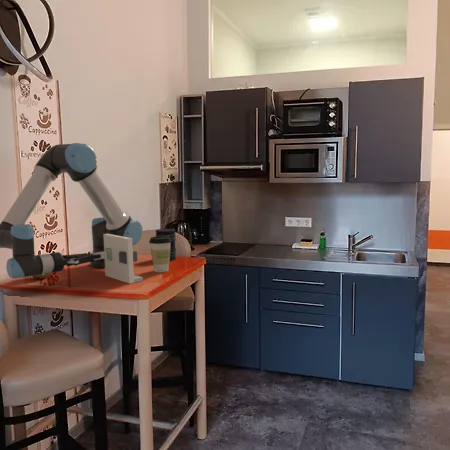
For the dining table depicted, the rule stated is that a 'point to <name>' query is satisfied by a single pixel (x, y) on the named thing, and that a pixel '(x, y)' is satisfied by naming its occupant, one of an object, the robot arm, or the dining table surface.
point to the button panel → (113, 265)
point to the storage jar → (172, 236)
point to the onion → (41, 275)
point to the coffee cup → (160, 252)
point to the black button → (124, 257)
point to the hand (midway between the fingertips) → (106, 254)
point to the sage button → (108, 253)
